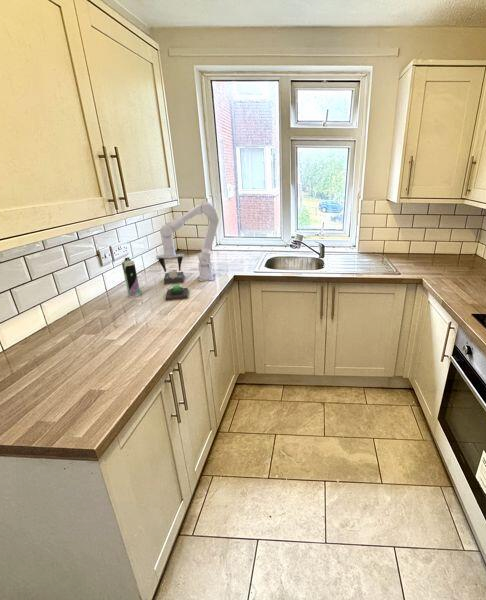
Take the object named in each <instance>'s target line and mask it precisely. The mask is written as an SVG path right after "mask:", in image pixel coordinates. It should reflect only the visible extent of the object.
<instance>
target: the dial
mask: <svg viewBox="0 0 486 600" xmlns="http://www.w3.org/2000/svg"><path fill="white" fill-rule="evenodd" d="M177 272H178V270H177V269H170V270H168V272H167V273H169V277H170V278H176V277H178V276H177Z"/></svg>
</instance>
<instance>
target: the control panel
mask: <svg viewBox="0 0 486 600" xmlns="http://www.w3.org/2000/svg"><path fill="white" fill-rule="evenodd" d="M177 276H178V277H176V278H170V277H169V272H165V274H164V277H163V284H164V285H171V284H173V285H174V284H181V283H182V284H183V283H184V279H185V272H184V271H177Z"/></svg>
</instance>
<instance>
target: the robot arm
mask: <svg viewBox="0 0 486 600" xmlns="http://www.w3.org/2000/svg"><path fill="white" fill-rule="evenodd" d="M203 214H204V215H205V217H207V219H208V220H209V221H208V225H207V229H206V233H205V237H204V241H203V245H202V247H201V250H200V252H199V253H198V255H197V259H198V271H199V272H198V273H199V276H198V277H199V278H198V280H199V282H205V281H206V282H207V281H214V274H213V269H212V266H213V265H212V262H211V253H212V249H213V245H214V244H213V243H214V241H215V237H216V232H217V228H218V225H219V222H220V221H219V216H218V213H217V211H216V209H215V207H214V206H213V205H212V203H210V202H209V201H203V202H202V203H200V204H198V205H196V206H194V207H193V208H191V209H190V210H189V211H187V212H186V213H185V214H183V215H181V216H173V217H172V219H171V220H170V221H169V222H165V224H164V225H162V226H161V227H160V230H159V231H160V235H161V241H162V242H161V243H162V248H163V253H164V254H159V255H156V256H155V259H156V261H158V263H159V264H160V265H161V267H162V269H163V271H164V272H165V273H167V267H166V261H165V260H170V259H171V260H172V259H177V265H178V272H181V270H182V269H181V268H182V267H181V266H182V262H183V259H185V253H176V249H175V241H174V237H173V233H176V232H178V230H180V229H182V228H183V227H184V226H185V223H187V221H188V220H190V219H193V217H195V216H197V215H200V216H201V215H203Z"/></svg>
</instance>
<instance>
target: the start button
mask: <svg viewBox="0 0 486 600" xmlns="http://www.w3.org/2000/svg"><path fill="white" fill-rule="evenodd" d="M180 287H181V285H173V286H172V287H171V288H173V291H177V290H180Z"/></svg>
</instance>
